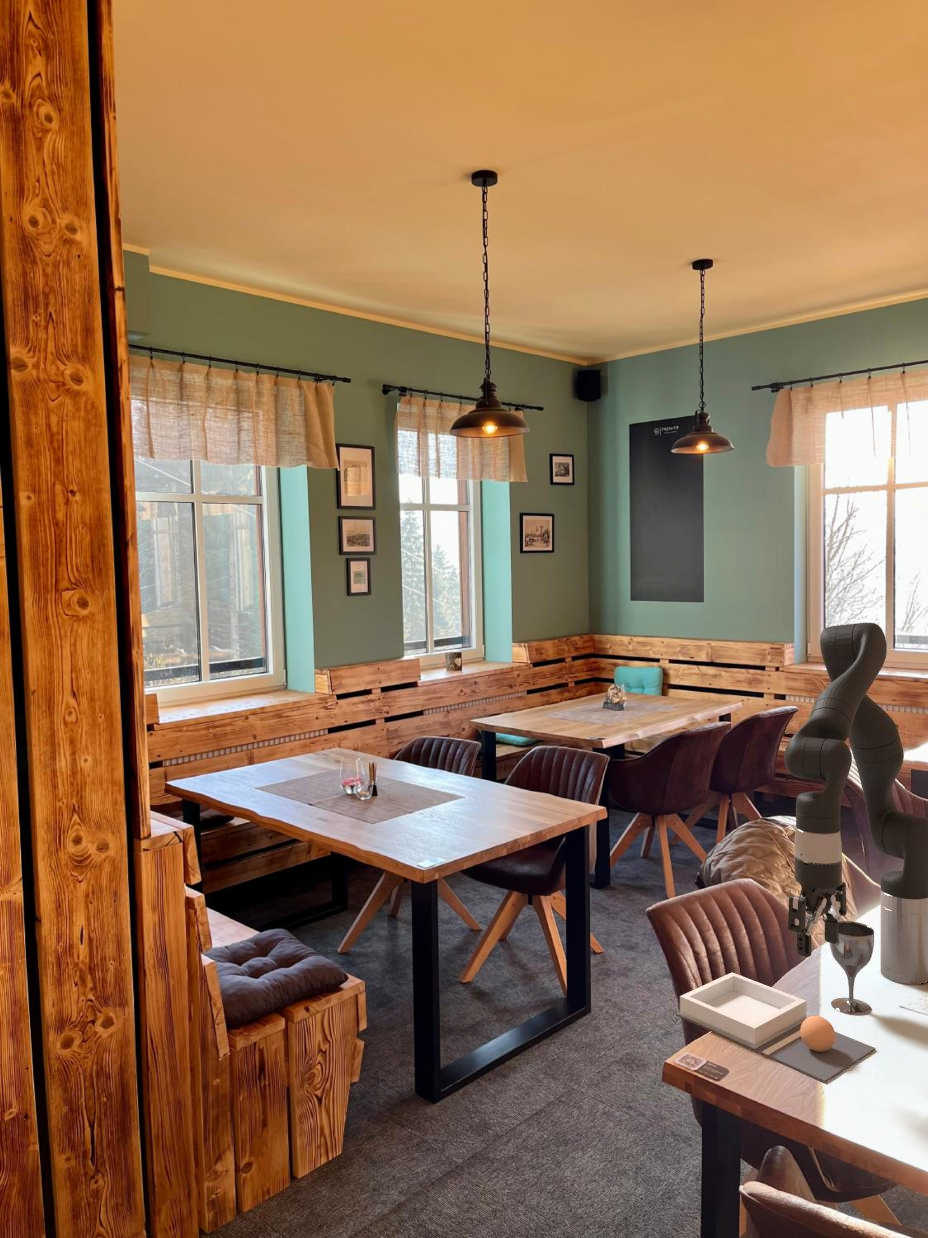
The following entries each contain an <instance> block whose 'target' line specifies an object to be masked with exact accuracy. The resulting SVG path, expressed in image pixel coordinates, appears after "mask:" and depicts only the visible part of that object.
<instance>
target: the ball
mask: <svg viewBox="0 0 928 1238" xmlns="http://www.w3.org/2000/svg"><path fill="white" fill-rule="evenodd" d="M835 1032H836V1030H835V1029H834V1026H833V1025H832V1024H831V1022H830V1021H828V1020H827V1018H824V1017H822V1016H820V1015H812V1016H811V1015H810V1016H809V1017H806V1019H805V1020H804V1021H803V1023H802V1025H801V1029H800V1034H801V1038H802V1040H803V1042H804V1043H805V1044H806V1046H808V1047H809V1048H810V1049H812V1050H814V1051H818V1052H823V1051H826V1050H828V1049H830V1048H831V1047H832V1046H833V1044H834V1042H835Z"/></svg>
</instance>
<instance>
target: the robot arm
mask: <svg viewBox="0 0 928 1238" xmlns="http://www.w3.org/2000/svg"><path fill="white" fill-rule="evenodd" d="M820 633H821V634H820V636H819V637H820V639H819V646H820V652H821V653H820V654H821V657H822V661H823V663H824V666H825V669H826V672H827V675H828V677H829V679H830V682H831V683H829V684H828V685H827V686H826V687H825V688H824V689H822V691H820V694H818V696H817V698H816V699H815V702H814V704H813V705H812V706H813V707H812V709H811V712H810V715H809V717H808V719H807V720H806V721H805V722H804V724H803V725H801V727H800V728H799V729H798V730H797V731H796V732H795V734H793V736H792V737H791V738H790V739H789V741H788V742H787V745H786V747H785V751H784V752H783V753H784V756H783V762H784V765H785V768H786V770H787V771H788V773H789V774H790V775H792V777H796V778H798V779H799V778H800V779H806V780H816V781H822V782H823V781H825V782H826V786H825V788H824V789H821V790H814V791H806V792H802V793H799V794H798V796H797V797H796V801H795V833H794V834H795V835H794V880H795V882H797V883H798V884H799V885H800V886H801V888H800V894H799V895H793V894H791V895H789V897H788V916H787V917H788V919H787V920H788V922H787V923H788V924H787V929H788V931H789V932H792V933H796V951H797V954H798V955H799V956H802V957H804V958H809V957H811V956H812V931H813V928H814V926H815V925H817V924H818V923H819V920H820V918H821V916H823V917H824V918H825V919H824V940H825V942H827V943H829V942H830V943H833V944H836V943H838V941H839V922H840V921H842V916H843V917H846V915H847V913H848V912H847V911H848V910H847V909H848V908H847V906H848V905H847V884H846V882H845V881H843V861H842V860H843V843H842V837H841V807H842V806H841V805H842V798H843V794H844V790H845V786H846V783H847V779H848V777H849V775H850V771H851V768H852V763H853V759H854V762H855V766H856V769H857V772H858V776H859V780H860V784H861V789H862V792H863V798H864V803H865V809H866V816H867V821H868V822H867V823H868V827H869V828H868V829H869V832H870V837H871V840H872V843H873V845H874V847H875V848H876V849H877V851H879V852H880V853H882V854H884V855H887V856H891V857H894V858H897V859H901V860H903V867H902V870H896V871H893V870H892V871H889V872H886V873H883V874H882V875H881V877H880V973H881V974H882V975H883V976H884V977H885V978H886V979H888V980H891V981H893V982H898V983H901V984H905V985H906V984H907V985H922V984H921V983H924V984H926V983H925V982H926V981H928V817H926V816H925V817H924V816H922V815H917V814H913V813H909V812H904V811H900V810H898V808H897V806H896V804H895V802H894V797H893V785H894V784H895V781H896V779H897V778H898V775H899V773H900V772H901V768H902V766H903V763H904V759H905V758H904V757H905V754H904V753H905V752H904V747H903V745H902V744H903V743H902V741H901V737H900V733H899V729H898V727H897V724H896V723H895V720H894V719H892V717H891V716H890V715H889V714H888V713H887V712H886V711H885V710H884V709H883V708H882V707H881V706H880V705H879V704H877V703H876V702H875V701H874V700H873V699H872V698H871V697H870V696H869V695H867V693H868V691H869V689H870V688H871V686H872V685H873V683H874V681H875V680H876V678H877V677H878V675H879V673H880V672H881V670H882V668H883V666H884V664H885V662H886V659H887V658H886V657H887V650H888V648H887V646H888V645H887V640H886V635H885V633H884V630H883V629H882V627H881V626H880V625H879V624H877V623H875V622H857V623H848V624H847V623H846V624H838V625H831V626H828V627H825V628H824V629H823V630H822V631H821V632H820ZM847 740H848V742H849V745H848V744H846V741H847ZM849 746H850V747H849ZM837 902H838V903H839V904H838V903H837ZM795 920H796V921H795ZM806 922H807V923H806Z"/></svg>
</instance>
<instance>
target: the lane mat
mask: <svg viewBox="0 0 928 1238" xmlns="http://www.w3.org/2000/svg"><path fill="white" fill-rule="evenodd" d="M675 1016H677V1017H678V1018H681V1019H683V1020H685V1021H688V1022H690V1023H691V1024H695V1026H696V1025H697V1026H699V1027H701V1028H703V1029H705V1030H707V1031H709V1032H711V1033H713V1034H716V1035H717V1036H720V1037H723V1038H725V1039H727V1040H728V1041H731V1042H733V1043H736V1044H738V1045H740V1046H742V1047H744V1048H747V1049H749V1050H751V1051H753V1052H756V1053H758V1054H760V1055H762V1056H765V1057H766V1058H769V1059H771V1060H772V1061H775V1062H778V1063H779V1064H782V1065H784V1066H786V1067H788V1068H791V1069H793V1070H795V1071H797V1072H799V1073H802V1074H804V1075H806V1076H808V1077H810V1078H813V1079H815V1080H817V1081H820V1082H822V1083H824V1084H826V1083H827V1082H829V1081H830V1080H832V1079H833V1078H836V1076H838V1075H840V1074H841V1073H842V1072H844V1071H846V1070H847V1069H849V1068H851V1067H852V1066H854V1065H855V1064H857V1063H858V1062H860V1061H861V1060H863V1059H864V1058H866V1057H867V1056H869V1055H871V1054H872V1053H874V1052H875V1051H876V1047H874V1046H871V1045H870V1044H866V1043H865V1042H862V1041H859V1040H857V1039H854V1038H852V1037H850V1036H847V1035H844V1034H842V1033H839V1032H837V1031H835V1042H834V1044H833V1046H832V1047H831V1048H830V1049H828V1050H826V1051H823V1052H818V1051H814V1050H812V1049H810V1048H809V1047H808V1046H806V1044H805V1043H804V1042H803V1040H802V1038H801V1034H800V1029H801V1025H802V1023H803V1022H802V1023H800V1024H799V1025H797V1026H795V1027H793V1028H791V1029H790V1030H788V1031H786V1032H784V1033H783V1034H781V1035H779V1036H777V1037H775V1038H774V1039H772V1040H770V1041H768V1042H766V1043H765V1044H763V1045H761V1046H759V1047H757V1048H756V1049H754V1048H751V1047H749V1046H747V1045H745V1044H743V1043H740V1042H738V1041H736V1040H734V1039H732V1038H729V1037H727V1036H725V1035H723V1034H721V1033H718V1032H716V1031H714V1030H712V1029H710V1028H707V1027H705V1026H703V1025H701V1024H698V1023H696V1022H694V1021H692V1020H690V1019H687V1018H685V1017H683V1016H681V1015H680V1011H678V1012H676V1013H675Z"/></svg>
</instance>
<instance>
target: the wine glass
mask: <svg viewBox="0 0 928 1238" xmlns="http://www.w3.org/2000/svg"><path fill="white" fill-rule="evenodd" d="M828 943H829V947H830V948H829V949H830V951H831V955H832V957H833V959H834V961H835V962H837V964H838V965H839V966H840V967H841V968H842V970H843V971H844V972H845V975H846V978H847V984H848V985H847V986H848V997H838V998H834V999H832V1001H831V1002H830V1005H831V1007H832V1008H833V1009H834V1010H836V1011H838V1012H840V1013H842V1014H845V1015H851V1016H866V1015H869V1014H871V1013H872V1011H873V1009H872V1007H871V1006H870V1004H868V1003H867V1002H864V1001H863V1000H860V999H857V998H854V989H855V987H854V986H855V980H856V977H857V976H858V973H860V972H861V970H863V969H864V968H865V967H866V966H867V965H868V964H869V963H870V962H871V959H872V956H873V952H874V947H875V946H874V945H875V930H874V928H873V927H871V926H869V925H868V924H865V923H861V922H858V921H852V920H841V921H840V922H839V941H838V943H836V944H833V943H830V942H828Z"/></svg>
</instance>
